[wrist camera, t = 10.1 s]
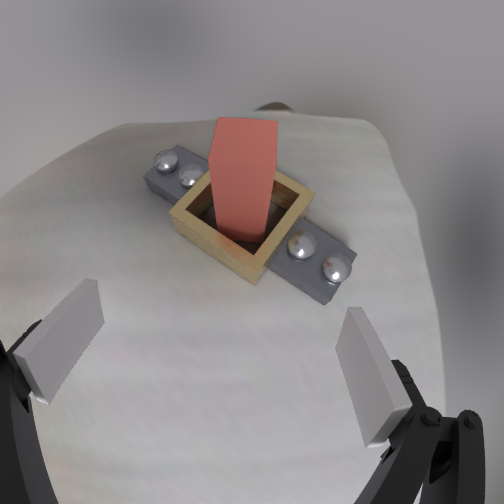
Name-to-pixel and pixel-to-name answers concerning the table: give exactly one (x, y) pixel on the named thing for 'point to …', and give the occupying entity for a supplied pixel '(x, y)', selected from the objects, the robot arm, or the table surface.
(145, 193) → the table surface
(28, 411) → the robot arm
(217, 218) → the link pin
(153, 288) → the table surface
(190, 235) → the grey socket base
